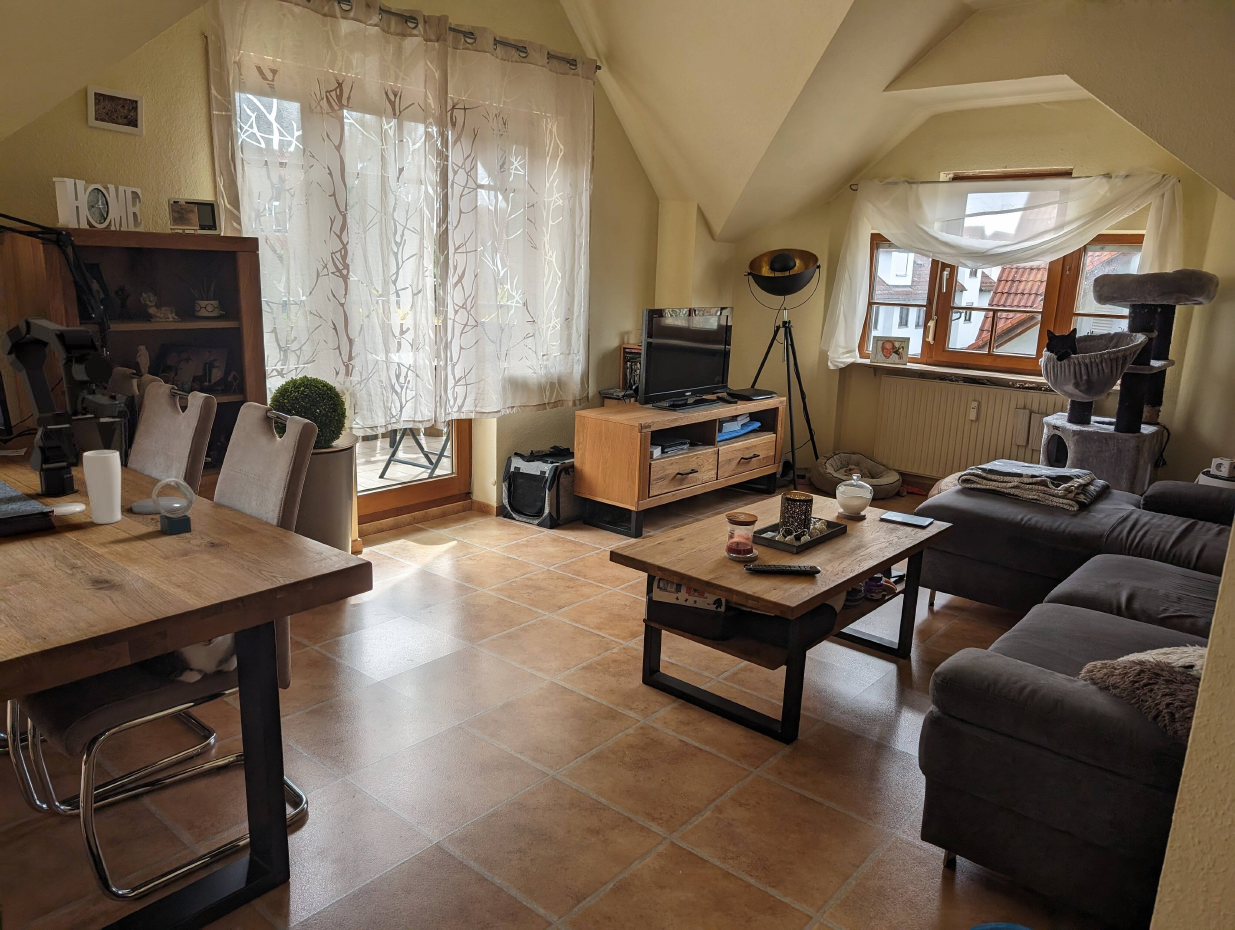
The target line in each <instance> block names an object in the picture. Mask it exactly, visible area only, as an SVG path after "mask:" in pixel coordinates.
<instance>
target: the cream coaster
mask: <svg viewBox="0 0 1235 930" xmlns="http://www.w3.org/2000/svg"><path fill="white" fill-rule="evenodd" d="M46 507H50V508H52V509H54V515H53V516H55V515H56V516H67V515H75V514H78V513H82V512H84V511H86V508H87V507H86V504H84V503H80V502H63V503H56V504H50V505H47V506H46Z"/></svg>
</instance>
